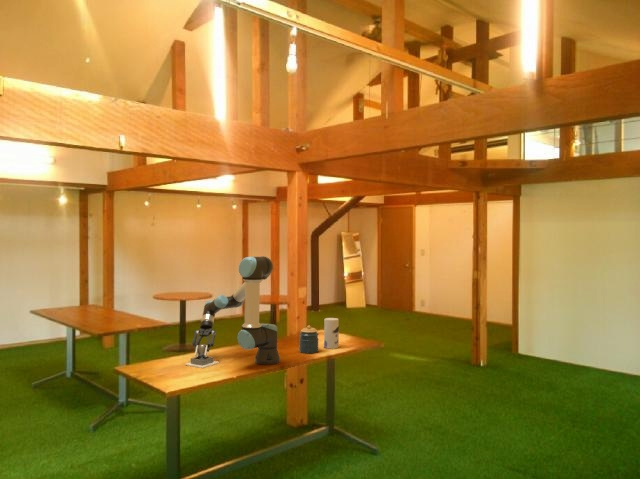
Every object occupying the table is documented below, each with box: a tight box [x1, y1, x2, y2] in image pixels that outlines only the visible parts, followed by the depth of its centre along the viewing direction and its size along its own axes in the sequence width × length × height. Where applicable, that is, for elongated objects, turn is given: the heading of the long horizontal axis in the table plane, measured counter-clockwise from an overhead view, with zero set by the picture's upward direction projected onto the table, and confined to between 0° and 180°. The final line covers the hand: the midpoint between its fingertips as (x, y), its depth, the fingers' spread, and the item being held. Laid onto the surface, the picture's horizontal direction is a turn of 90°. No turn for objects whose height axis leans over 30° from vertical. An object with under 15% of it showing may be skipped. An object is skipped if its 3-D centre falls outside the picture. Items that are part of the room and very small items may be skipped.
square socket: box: [184, 355, 220, 369], centre depth 286 cm, size 14×14×4 cm
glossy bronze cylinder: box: [197, 343, 207, 360], centre depth 286 cm, size 5×5×9 cm
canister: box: [298, 324, 319, 355], centre depth 320 cm, size 13×13×18 cm
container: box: [323, 317, 340, 350], centre depth 333 cm, size 10×10×20 cm
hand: (200, 355), depth 282 cm, fingers closed on glossy bronze cylinder, 5 cm apart
